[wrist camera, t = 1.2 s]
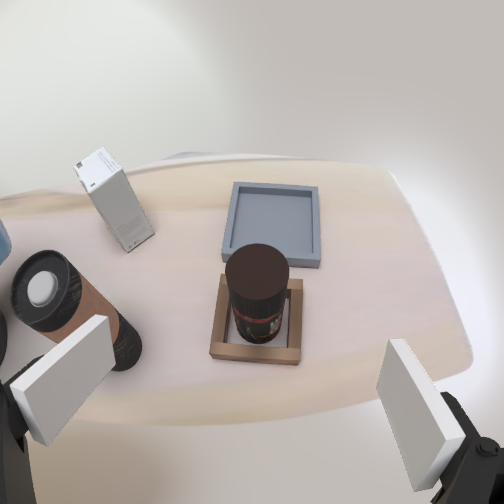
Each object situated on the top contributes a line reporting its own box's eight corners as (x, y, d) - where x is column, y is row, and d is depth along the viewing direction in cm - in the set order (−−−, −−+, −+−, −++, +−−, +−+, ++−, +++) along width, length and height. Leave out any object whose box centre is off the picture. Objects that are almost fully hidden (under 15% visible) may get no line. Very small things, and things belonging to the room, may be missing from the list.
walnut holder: (212, 358, 40) (209, 353, 37) (223, 283, 45) (220, 273, 43) (297, 365, 39) (300, 360, 36) (300, 288, 45) (303, 279, 42)
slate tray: (223, 261, 47) (221, 253, 45) (234, 191, 55) (233, 181, 52) (317, 268, 46) (320, 259, 44) (315, 196, 54) (317, 186, 51)
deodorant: (268, 351, 40) (272, 310, 27) (228, 332, 42) (213, 282, 29) (287, 313, 43) (299, 257, 30) (249, 296, 44) (243, 234, 32)
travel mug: (133, 314, 43) (65, 235, 26) (151, 361, 39) (77, 304, 22) (90, 334, 41) (7, 268, 24) (105, 381, 38) (12, 336, 21)
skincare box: (155, 233, 50) (126, 168, 38) (126, 255, 48) (88, 194, 36) (133, 206, 54) (104, 143, 41) (105, 224, 52) (70, 165, 39)
